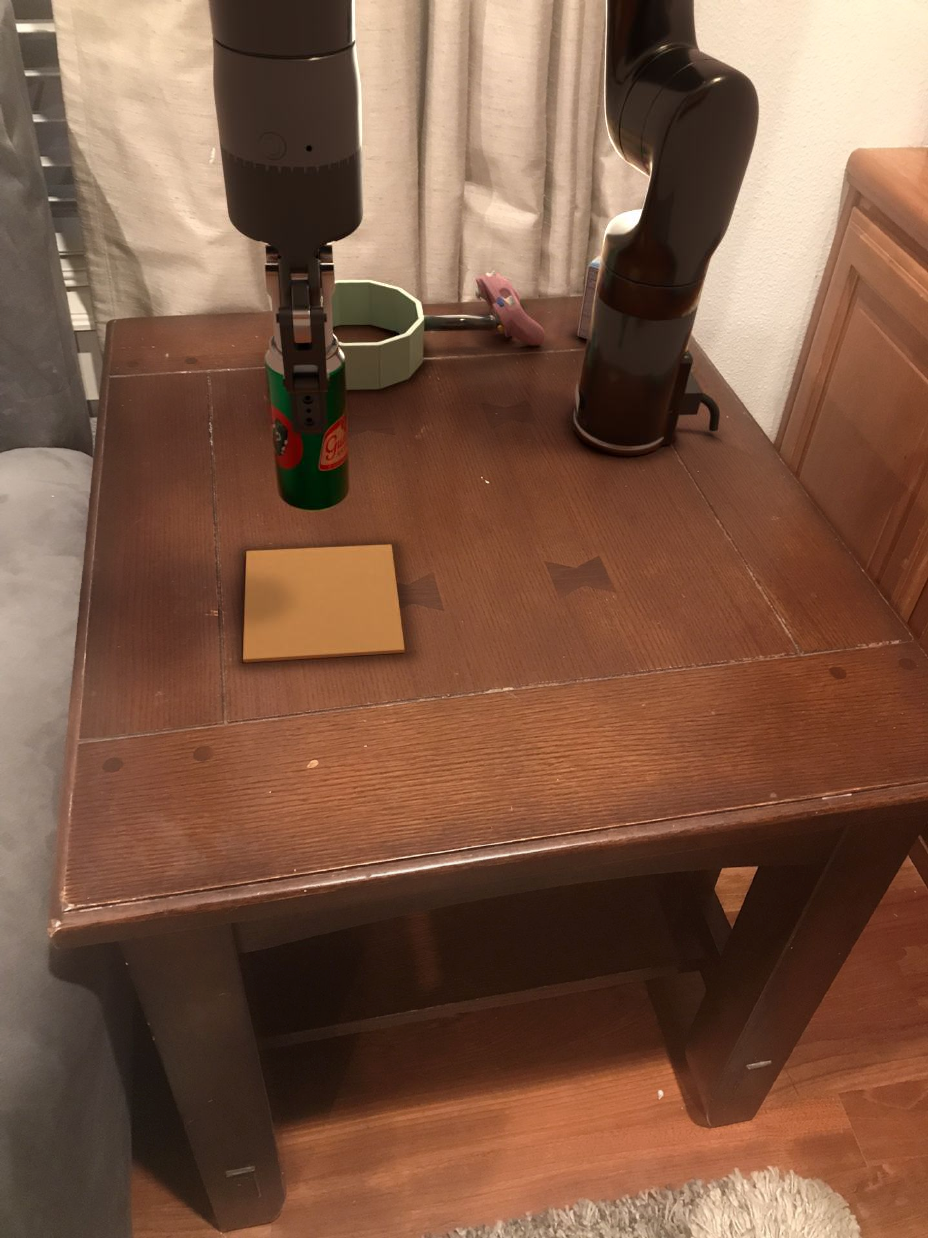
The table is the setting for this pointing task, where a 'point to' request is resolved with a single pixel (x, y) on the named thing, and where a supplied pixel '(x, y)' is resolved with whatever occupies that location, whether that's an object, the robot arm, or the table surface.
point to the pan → (395, 313)
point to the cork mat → (321, 603)
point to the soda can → (309, 438)
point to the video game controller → (508, 309)
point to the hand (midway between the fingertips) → (309, 405)
